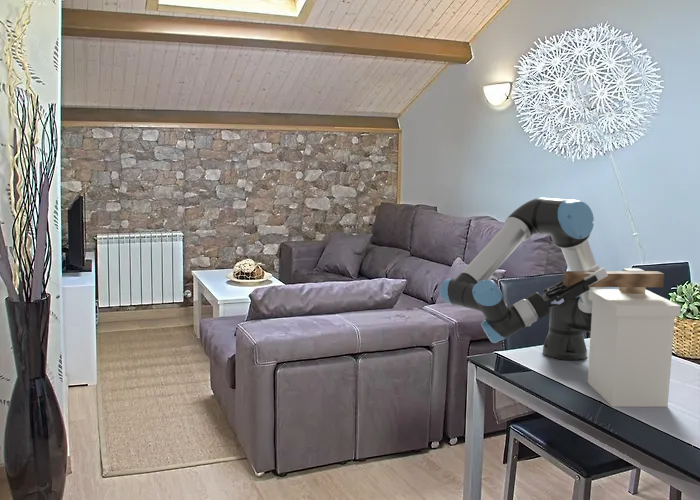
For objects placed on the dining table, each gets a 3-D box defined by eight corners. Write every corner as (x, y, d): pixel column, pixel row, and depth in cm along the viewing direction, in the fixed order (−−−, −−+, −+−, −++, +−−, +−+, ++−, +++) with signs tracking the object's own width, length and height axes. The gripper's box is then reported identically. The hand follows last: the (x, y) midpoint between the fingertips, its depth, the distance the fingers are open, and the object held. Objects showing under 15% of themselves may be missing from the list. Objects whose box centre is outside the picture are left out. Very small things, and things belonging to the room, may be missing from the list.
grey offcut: (627, 280, 205) (628, 270, 205) (622, 277, 209) (622, 268, 209) (643, 280, 205) (644, 270, 205) (638, 277, 209) (638, 268, 209)
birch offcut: (625, 293, 205) (626, 280, 205) (618, 290, 210) (619, 277, 210) (645, 293, 205) (646, 280, 205) (638, 290, 210) (639, 277, 210)
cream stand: (610, 408, 194) (616, 305, 189) (583, 381, 216) (588, 289, 211) (672, 408, 194) (680, 306, 190) (639, 381, 216) (646, 289, 211)
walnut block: (567, 287, 198) (568, 273, 197) (563, 284, 202) (563, 271, 201) (663, 287, 198) (664, 273, 197) (657, 284, 202) (658, 271, 201)
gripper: (530, 312, 210) (597, 275, 208) (546, 327, 193) (619, 286, 191) (518, 291, 209) (586, 254, 207) (534, 304, 192) (608, 264, 190)
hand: (602, 270), depth 199 cm, fingers closed on walnut block, 4 cm apart
